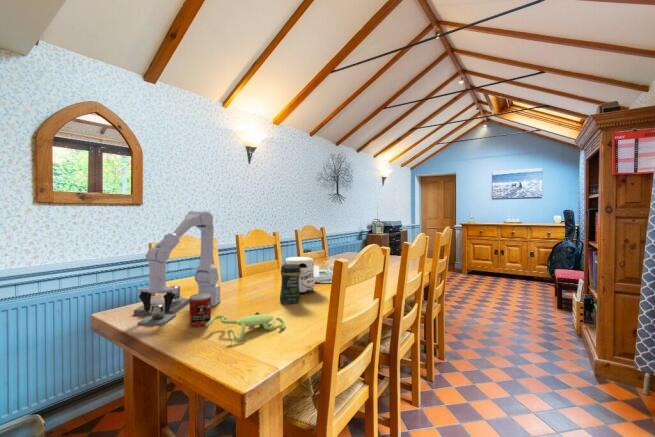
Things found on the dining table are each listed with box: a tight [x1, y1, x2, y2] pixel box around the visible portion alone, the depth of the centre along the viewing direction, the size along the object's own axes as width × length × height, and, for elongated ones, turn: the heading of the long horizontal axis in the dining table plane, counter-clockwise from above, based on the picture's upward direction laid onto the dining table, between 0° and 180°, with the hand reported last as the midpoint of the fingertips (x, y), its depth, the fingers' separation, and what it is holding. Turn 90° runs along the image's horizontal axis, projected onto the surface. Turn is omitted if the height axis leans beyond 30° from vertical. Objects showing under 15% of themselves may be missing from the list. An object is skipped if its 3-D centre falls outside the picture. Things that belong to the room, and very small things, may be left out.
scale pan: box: [151, 293, 183, 302], centre depth 141 cm, size 14×14×1 cm
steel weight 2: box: [169, 285, 181, 299], centre depth 141 cm, size 4×4×5 cm
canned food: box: [189, 293, 212, 328], centre depth 122 cm, size 8×8×11 cm
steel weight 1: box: [152, 304, 165, 320], centre depth 125 cm, size 4×4×5 cm
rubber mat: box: [137, 313, 177, 326], centre depth 125 cm, size 10×10×1 cm
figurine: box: [204, 312, 286, 344], centre depth 117 cm, size 18×27×6 cm
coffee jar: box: [279, 263, 301, 305], centre depth 153 cm, size 10×8×19 cm
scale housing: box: [133, 297, 190, 316], centre depth 140 cm, size 16×18×5 cm
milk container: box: [284, 256, 316, 294], centre depth 173 cm, size 17×17×18 cm
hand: (157, 311), depth 125 cm, fingers open, 7 cm apart
